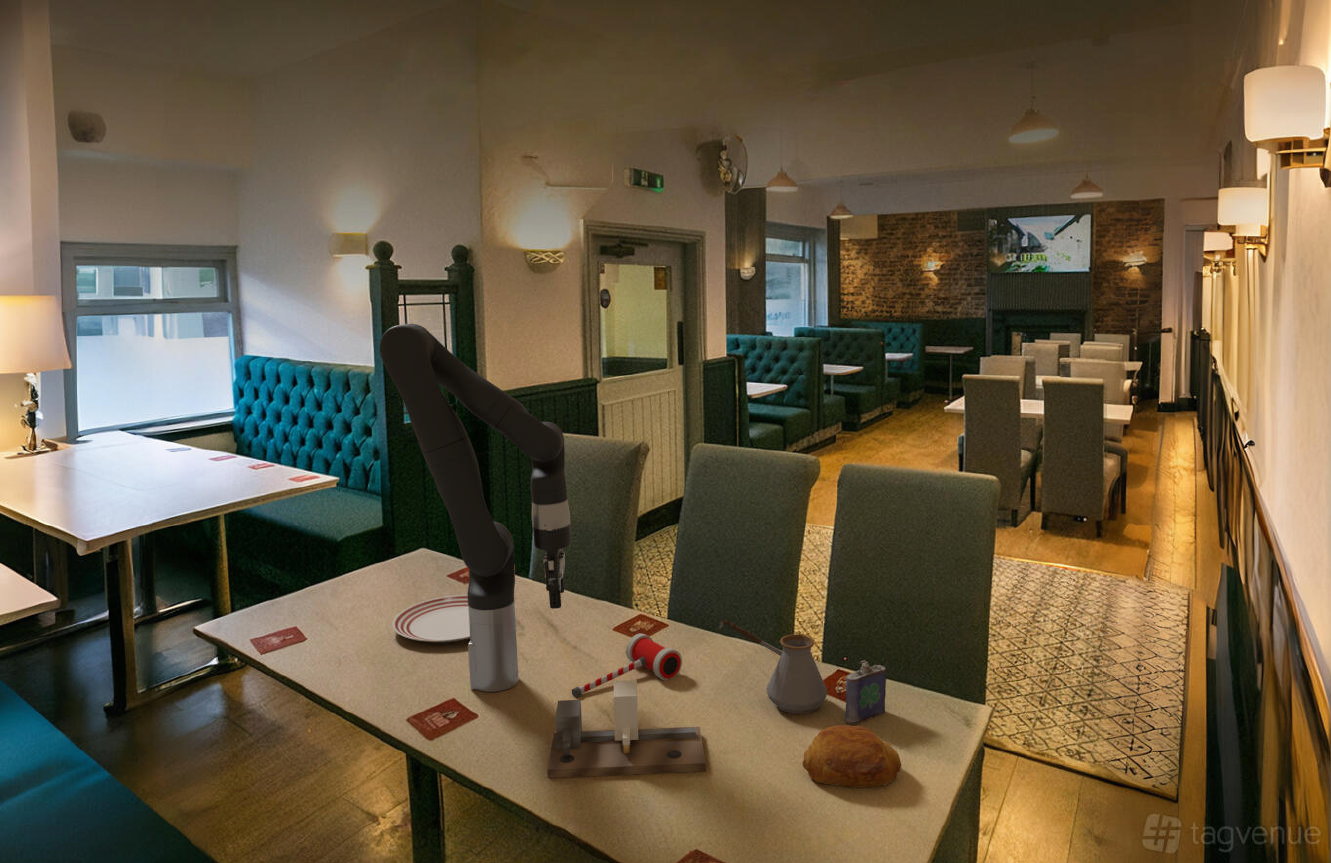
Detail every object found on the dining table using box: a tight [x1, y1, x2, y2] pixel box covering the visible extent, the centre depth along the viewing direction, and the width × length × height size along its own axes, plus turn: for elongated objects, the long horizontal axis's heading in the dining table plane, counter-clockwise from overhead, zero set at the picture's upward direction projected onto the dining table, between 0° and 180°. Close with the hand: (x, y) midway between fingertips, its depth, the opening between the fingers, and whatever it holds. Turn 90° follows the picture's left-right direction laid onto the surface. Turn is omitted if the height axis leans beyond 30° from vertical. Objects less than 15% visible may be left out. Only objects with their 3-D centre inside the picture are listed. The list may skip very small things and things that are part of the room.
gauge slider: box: [613, 679, 639, 753], centre depth 147 cm, size 4×10×8 cm, turn 2°
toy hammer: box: [571, 633, 683, 699], centre depth 175 cm, size 23×12×6 cm, turn 127°
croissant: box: [802, 724, 902, 788], centre depth 141 cm, size 14×16×8 cm
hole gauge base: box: [546, 699, 707, 779], centre depth 146 cm, size 26×12×8 cm, turn 92°
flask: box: [844, 659, 888, 726], centre depth 158 cm, size 9×3×11 cm, turn 121°
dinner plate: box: [391, 594, 470, 643], centre depth 205 cm, size 27×27×3 cm
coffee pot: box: [718, 618, 828, 715], centre depth 165 cm, size 21×12×15 cm, turn 65°
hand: (557, 600), depth 173 cm, fingers open, 8 cm apart
